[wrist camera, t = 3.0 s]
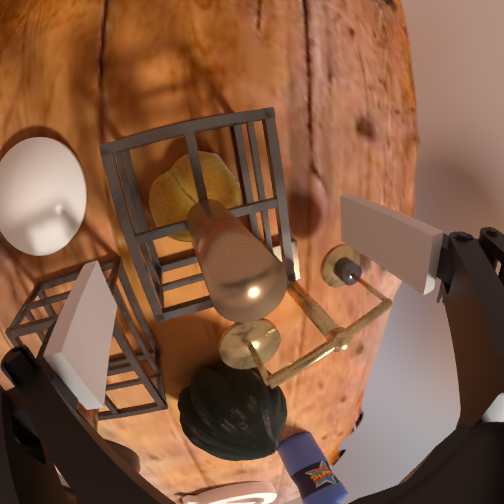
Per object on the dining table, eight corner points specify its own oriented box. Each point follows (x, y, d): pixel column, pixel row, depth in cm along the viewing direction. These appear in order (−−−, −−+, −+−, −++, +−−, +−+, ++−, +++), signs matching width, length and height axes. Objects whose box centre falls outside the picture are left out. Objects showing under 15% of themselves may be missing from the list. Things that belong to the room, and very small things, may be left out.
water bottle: (283, 436, 51) (331, 525, 29) (318, 428, 54) (368, 507, 32) (271, 454, 54) (311, 535, 32) (303, 447, 57) (346, 520, 35)
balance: (203, 303, 32) (242, 417, 18) (192, 266, 30) (227, 377, 16) (335, 261, 36) (423, 330, 22) (334, 226, 34) (434, 285, 19)
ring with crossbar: (178, 492, 53) (181, 506, 49) (272, 472, 61) (277, 485, 56) (198, 510, 65) (201, 520, 61) (271, 494, 72) (276, 503, 68)
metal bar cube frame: (85, 369, 30) (74, 493, 14) (35, 283, 24) (-32, 410, 8) (161, 351, 33) (182, 488, 16) (120, 256, 27) (89, 405, 10)
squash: (152, 434, 31) (239, 495, 25) (167, 362, 28) (285, 440, 22) (208, 394, 44) (281, 439, 38) (233, 327, 41) (322, 377, 35)
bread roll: (134, 198, 26) (130, 207, 22) (202, 138, 25) (209, 137, 22) (188, 253, 29) (192, 269, 26) (251, 198, 29) (264, 207, 26)
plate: (18, 262, 23) (13, 268, 22) (-12, 163, 18) (-19, 165, 16) (103, 232, 25) (100, 236, 24) (74, 119, 20) (70, 118, 19)
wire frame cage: (156, 271, 29) (166, 424, 12) (120, 144, 23) (36, 151, 6) (259, 242, 31) (364, 353, 15) (238, 117, 25) (365, 88, 9)
